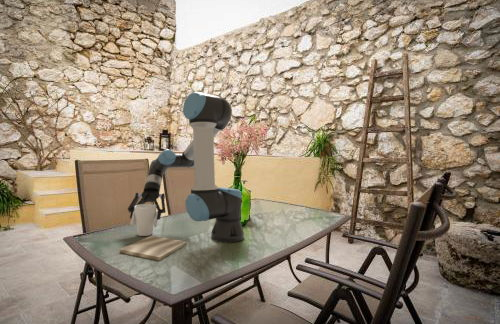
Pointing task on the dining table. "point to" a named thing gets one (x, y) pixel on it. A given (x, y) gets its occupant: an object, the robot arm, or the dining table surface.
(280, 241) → the dining table surface
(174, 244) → the ash board
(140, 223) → the foam cup
